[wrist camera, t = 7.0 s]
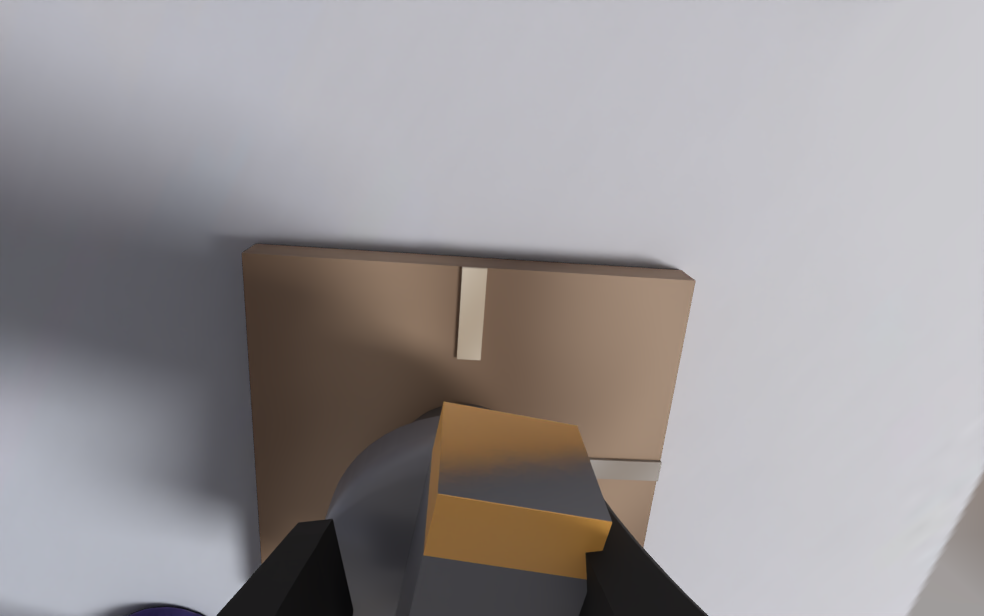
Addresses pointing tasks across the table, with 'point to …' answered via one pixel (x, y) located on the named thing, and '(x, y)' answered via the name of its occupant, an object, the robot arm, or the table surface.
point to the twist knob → (470, 518)
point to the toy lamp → (164, 612)
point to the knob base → (452, 362)
